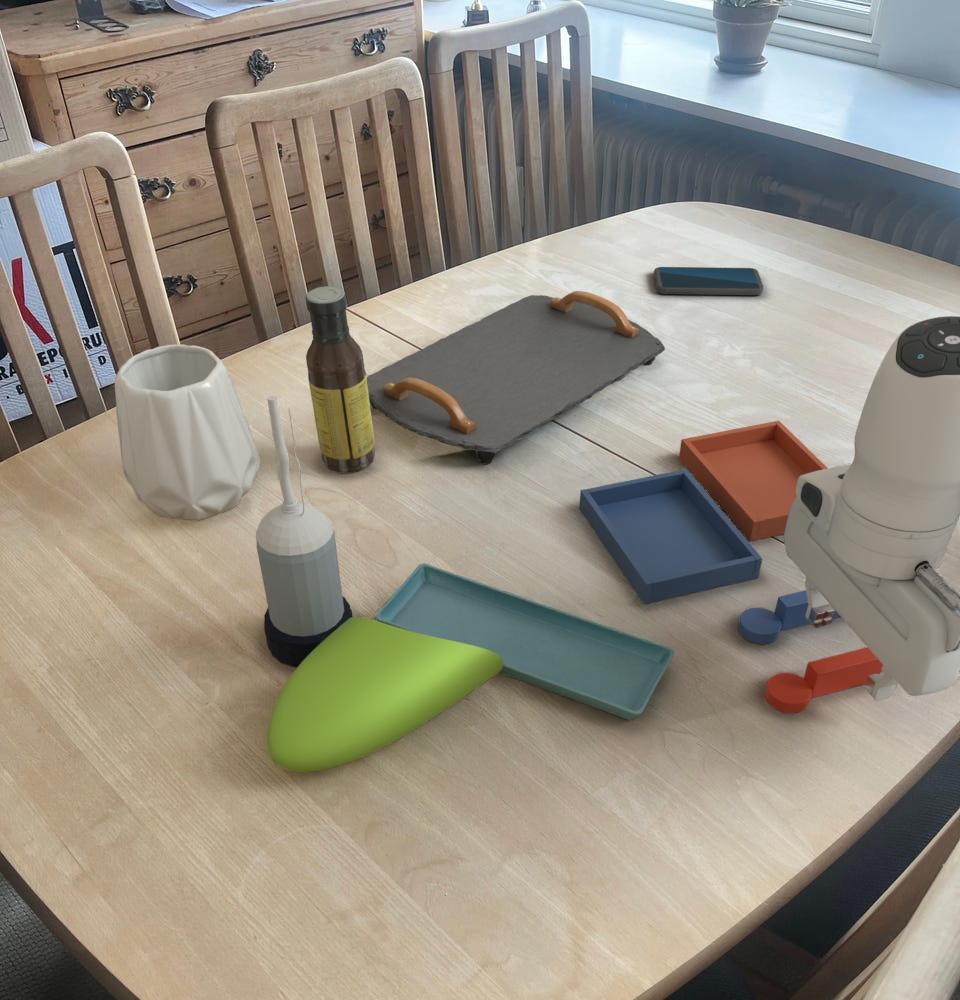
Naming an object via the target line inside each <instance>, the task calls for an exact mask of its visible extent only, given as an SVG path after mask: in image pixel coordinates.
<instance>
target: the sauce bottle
mask: <svg viewBox="0 0 960 1000" xmlns="http://www.w3.org/2000/svg"><path fill="white" fill-rule="evenodd" d="M346 296H347V295H346V293H345V291H344V289H342V288H341V287H337V286H333V285H331V286H330V285H326V286H325V285H324V286H319V287H315V288H314V289H312V290H309V291H308V292H307V293H306V295H305V305H306V310H307V311H308V313H309V317H310V322H311V323H310V324H311V334H312V340H311V342H310V345H309V347H308V348H307V351H306V354H305V355H306V356H305V361H306V367H307V377H308V378H307V379H308V380H307V381H308V386H309V389H310V390H309V391H310V397H311V398H310V399H311V402H312V407H313V408H312V409H313V415H314V422H315V427H316V433H317V440H318V445H319V450H320V453H321V459H322V463H323V464H324V465H325V466H326V468H328V469H330V470H331V471H332V472H334V473H337V474H338V473H339V474H353V473H357V472H360V471H362V470H364V469H366V468H368V467H369V466H371V464H372V463H373V462H374V458H375V456H376V451H375V447H374V446H375V435H374V434H375V433H374V426H373V419H372V409H371V404H370V402H369V394H368V385H367V377H368V376H367V372H366V371H367V370H366V369H365V361H364V354H363V351H362V349H361V346H360V345H359V344H358V343H357V341H356V340H355V339H354V338H353V336H352V335H351V334H350V327H349V324H348V317H347V305H348V303H347V297H346Z"/></svg>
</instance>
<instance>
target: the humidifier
mask: <svg viewBox="0 0 960 1000" xmlns="http://www.w3.org/2000/svg"><path fill="white" fill-rule="evenodd" d="M266 400H267V405H268V412H269V419H270V424H271V425H270V426H271V432H272V438H273V442H274V447H275V451H276V455H277V475H278V481H279V485H280V490H281V494H282V498H283V501H282V503H280V504H278V505H277V506H275V507H273V508H271V509H270V510H268V511H267V513H266V514H264V515H263V517H262V518H261V519H260V522H259V524H258V526H257V528H256V531H255V541H256V543H255V544H256V551H257V557H258V561H259V568H260V570H261V571H260V573H261V578H262V582H263V588H264V594H265V598H266V604H267V608H266V611H265V613H264V617H263V619H264V620H263V623H264V624H263V626H264V627H263V629H264V633H265V640H266V644H267V645H266V646H267V648H268V650H269V653H270V654H271V655H272V657H274V658H275V659H276V660H277V661H279V663H281V664H284V665H287V666H290V667H293V668H297V667H298V666H299V665H300V664H301V663H302V661H303V660H304V659H305V658H306V657H307V656H308V655H309V654H310V653H311V652H312V651H313V650H314V649H315V648H316V647H317V646H318V645H319V644H320V643H321V642H323V641H324V640H325V639H326V638H327V637H328V636H329V635H330V634H332V633H333V632H334V631H335V630H336V629H337V628H339V627H340V626H341V625H342V624H343V623H345V622H346V621H347V620H348V619H349V618H351V617H354V616H353V611H352V609H351V605H350V603H349V602H348V600H347V598H346V596H345V597H344V596H343V590H342V583H341V582H342V581H341V575H340V565H339V557H338V550H337V549H338V548H337V542H336V541H337V540H336V535H335V534H336V533H335V530H334V526H333V522H332V521H331V520H330V519H329V517H328V516H327V515H326V513H325V512H324V511H322V510H320V509H319V508H317V507H316V506H314V505H312V504H309V503H306V502H305V499H304V494H303V493H304V492H303V485H302V468H301V465H300V462H299V459H298V457H297V455H296V454H297V453H296V442H295V433H294V428H293V421H292V413H291V408H290V407H288V414H289V415H288V416H289V422H290V428H291V435H292V441H293V447H292V449H293V455H294V458H295V460H296V464H297V465H298V468H299V486H300V493H301V495H300V496H301V501H298V499H296V497H295V494H294V489H293V485H292V481H291V476H290V460H289V459H290V458H289V452H288V448H287V445H286V441H285V436H284V431H283V427H282V420H281V414H280V409H279V404H278V398H277V396H276V395H268V396H267V399H266Z"/></svg>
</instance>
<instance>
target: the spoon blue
mask: <svg viewBox="0 0 960 1000" xmlns="http://www.w3.org/2000/svg"><path fill="white" fill-rule="evenodd" d="M808 605H809V603H808V600H807V593H806V589H804V590H801V591H797V592H793V593H788V594H783V595H779V596H778V597H777V599H776V604H775V608H774V611H772V610H770V609H768V608H764V607H751V608H747V609H745V610H744V611H743V612H742V613H741V614H740V616H739V620H738V626H737V629H738V632H739V634H740V635H741V637H743V638H744V640H746V641H748V642H751V643H753V644H758V645H765V644H771V643H773V642H775V641H777V640H778V638H779V637H780V634H781V632H784V631H787V630H791V629H792V630H793V629H795V628H799V627H800V628H801V627H803V626H808V625H812V624H811V622H810V621H809V620H808V619H807V618H806V616H805V615H806V612H807V608H808ZM833 609H834V608H833ZM834 610H835V609H834ZM840 617H841V616H840V615H839V614H838V613H837V612H836V610H835V611H834V614H833V616H832V619H836V618H840Z"/></svg>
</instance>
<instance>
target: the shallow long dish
mask: <svg viewBox="0 0 960 1000" xmlns="http://www.w3.org/2000/svg"><path fill="white" fill-rule="evenodd" d="M374 620H376V621H379V622H382V623H385V624H388V625H391V626H394V627H397V628H400V629H404V630H407V631H411V632H415V633H419V634H423V635H428V636H432V637H437V638H441V639H446V640H451V641H455V642H460V643H465V644H469V645H473V646H477V647H480V648H484V649H487V650H490V651H492V652H494V653H496V654H498V655H499V656H500V657H501V658H502V659H503V667H502V669H501V671H500V672H499V673H498V674H502V675H504V676H507V677H509V678H513V679H516V680H518V681H521V682H524V683H526V684H529V685H532V686H535V687H536V688H540V689H543V690H545V691H548V692H551V693H553V694H557V695H559V696H562V697H564V698H568V699H571V700H573V701H575V702H578V703H580V704H584V705H586V706H590V707H592V708H595V709H598V710H601V711H603V712H606V713H608V714H610V715H614V716H617V717H620V718H622V719H625V720H629V721H630V720H633V719H635V718H637V717H639V716H640V715H641V714H643V713H644V711H645V708H646V706H647V705H648V703H649V701H650V700H651V699H650V698H651V697H652V695H653V693H654V691H655V690H656V687H657V686H658V684H659V682H660V680H661V679H662V677H663V675H664V674H665V672H666V670H667V668H668V667H669V665H670V664H671V661H672V660H673V658H674V657H675V653H676V652H675V649H673V648H672V647H670V646H668V645H663V644H661V643H658V642H655V641H652V640H649V639H645V638H643V637H640V636H637V635H634V634H631V633H628V632H626V631H623V630H619V629H617V628H615V627H614V628H613V627H611V626H607V625H605V624H602V623H599V622H596V621H593V620H590V619H587V618H584V617H581V616H578V615H575V614H572V613H570V612H567V611H564V610H560V609H557V608H556V607H552V606H549V605H546V604H543V603H540V602H537V601H534V600H532V599H528V598H525V597H523V596H519V595H517V594H514V593H511V592H508V591H505V590H503V589H500V588H497V587H494V586H491V585H489V584H485V583H482V582H479V581H476V580H474V579H471V578H469V577H466V576H462V575H459V574H457V573H454V572H451V571H448V570H446V569H442V568H439V567H437V566H433V565H431V564H429V563H424V562H423V563H420V564H418V565H417V566H416V568H415V569H414V570H413V571H412V572H411V574H409V576H408V577H407V578H406V579H405V580H404V582H403V583H402V584H401V585H400V586H399V588H397V589H396V591H395V592H394V593H393V594H392V595H391V596H390V598H388V600H387V601H386V602H385V603H384V604H383V605H382V606H381V607H380V609H378V610H377V612H375V615H374Z"/></svg>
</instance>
